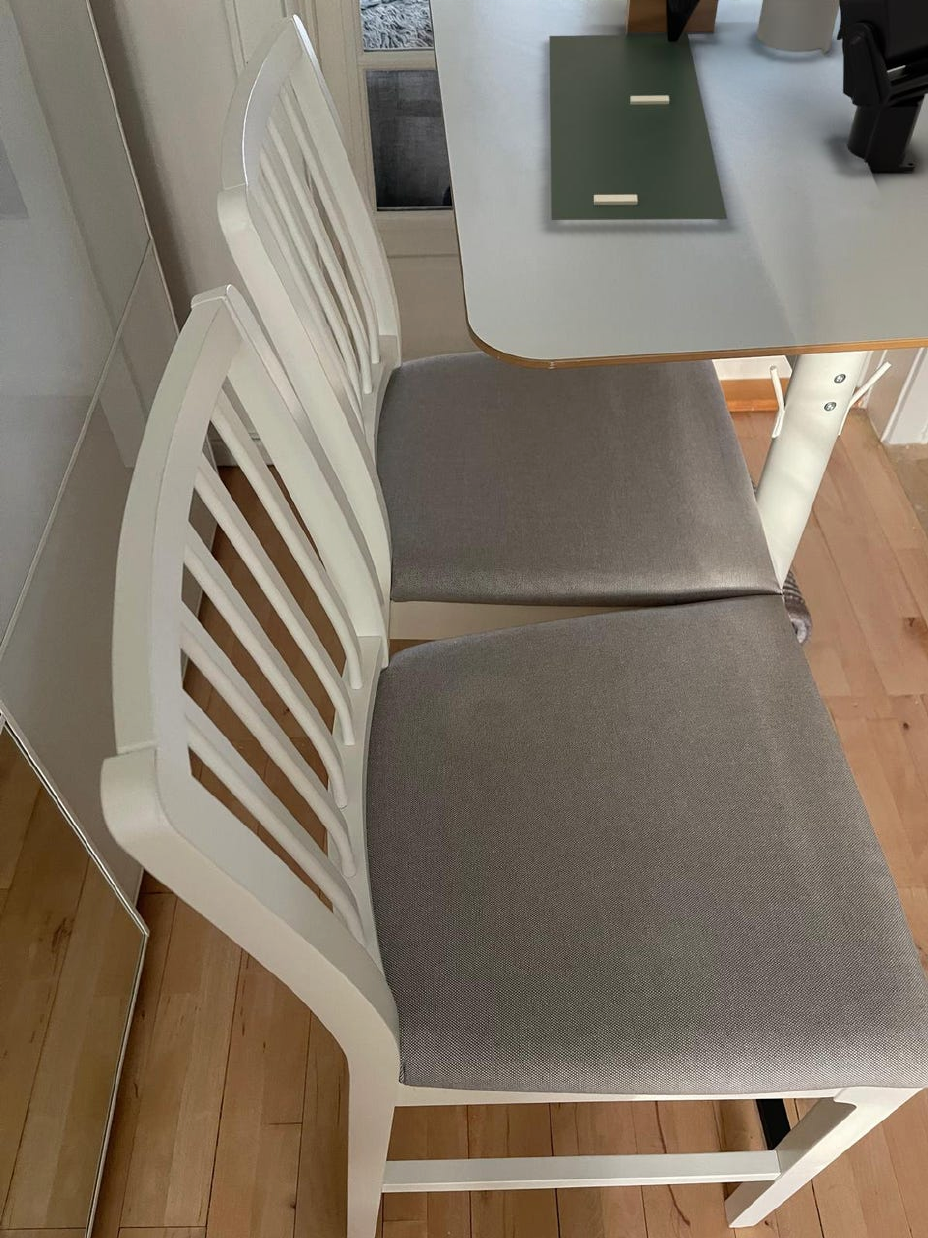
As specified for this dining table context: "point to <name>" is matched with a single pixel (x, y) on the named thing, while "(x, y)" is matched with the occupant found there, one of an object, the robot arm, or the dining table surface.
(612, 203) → the white rectangular bar
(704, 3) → the eraser
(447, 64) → the dining table surface
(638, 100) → the chalk mark
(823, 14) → the cup
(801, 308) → the dining table surface
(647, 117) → the chalkboard
